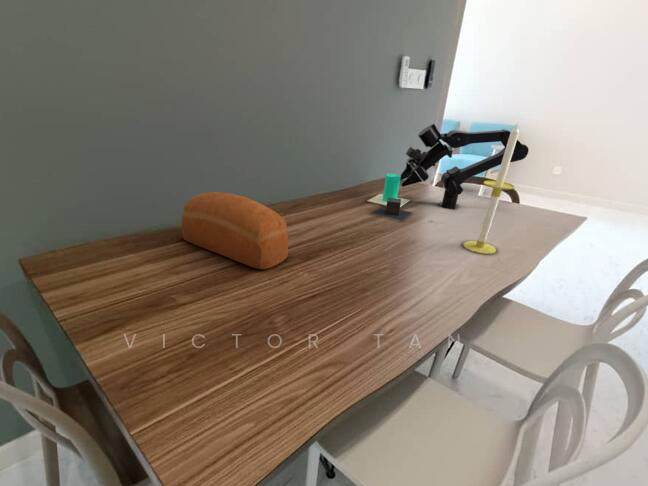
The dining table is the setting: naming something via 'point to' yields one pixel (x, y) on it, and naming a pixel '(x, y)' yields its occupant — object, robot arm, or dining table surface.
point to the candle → (391, 186)
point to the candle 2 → (494, 198)
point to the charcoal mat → (400, 217)
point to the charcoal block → (393, 206)
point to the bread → (236, 229)
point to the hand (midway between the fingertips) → (400, 182)
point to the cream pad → (379, 200)
